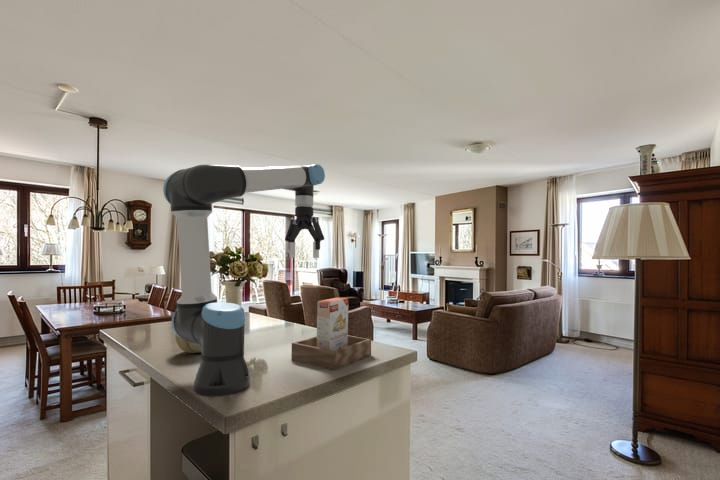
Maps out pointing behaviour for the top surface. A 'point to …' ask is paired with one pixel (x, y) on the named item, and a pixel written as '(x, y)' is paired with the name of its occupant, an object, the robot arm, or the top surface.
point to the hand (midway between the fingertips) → (303, 257)
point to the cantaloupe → (188, 345)
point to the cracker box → (332, 323)
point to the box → (331, 352)
